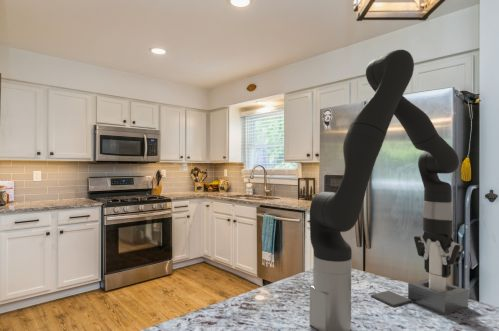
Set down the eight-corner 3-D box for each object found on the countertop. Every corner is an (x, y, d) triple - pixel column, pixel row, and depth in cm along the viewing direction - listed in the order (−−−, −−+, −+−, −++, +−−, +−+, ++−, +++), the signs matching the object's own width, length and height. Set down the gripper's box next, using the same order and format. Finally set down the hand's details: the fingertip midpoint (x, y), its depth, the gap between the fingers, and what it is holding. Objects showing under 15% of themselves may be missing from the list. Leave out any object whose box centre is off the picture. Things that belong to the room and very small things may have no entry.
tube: (448, 295, 89) (448, 243, 90) (432, 294, 90) (432, 242, 91) (442, 290, 94) (442, 240, 94) (426, 289, 94) (426, 239, 95)
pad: (393, 306, 89) (393, 304, 89) (371, 296, 96) (371, 294, 96) (411, 301, 93) (411, 299, 93) (388, 292, 100) (388, 290, 100)
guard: (444, 314, 84) (444, 296, 85) (408, 299, 94) (408, 283, 94) (467, 307, 89) (467, 290, 90) (430, 293, 99) (430, 278, 99)
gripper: (407, 214, 97) (407, 269, 97) (455, 221, 84) (454, 284, 84) (422, 213, 100) (422, 266, 100) (470, 219, 88) (470, 280, 87)
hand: (437, 274), depth 92 cm, fingers closed on tube, 4 cm apart
